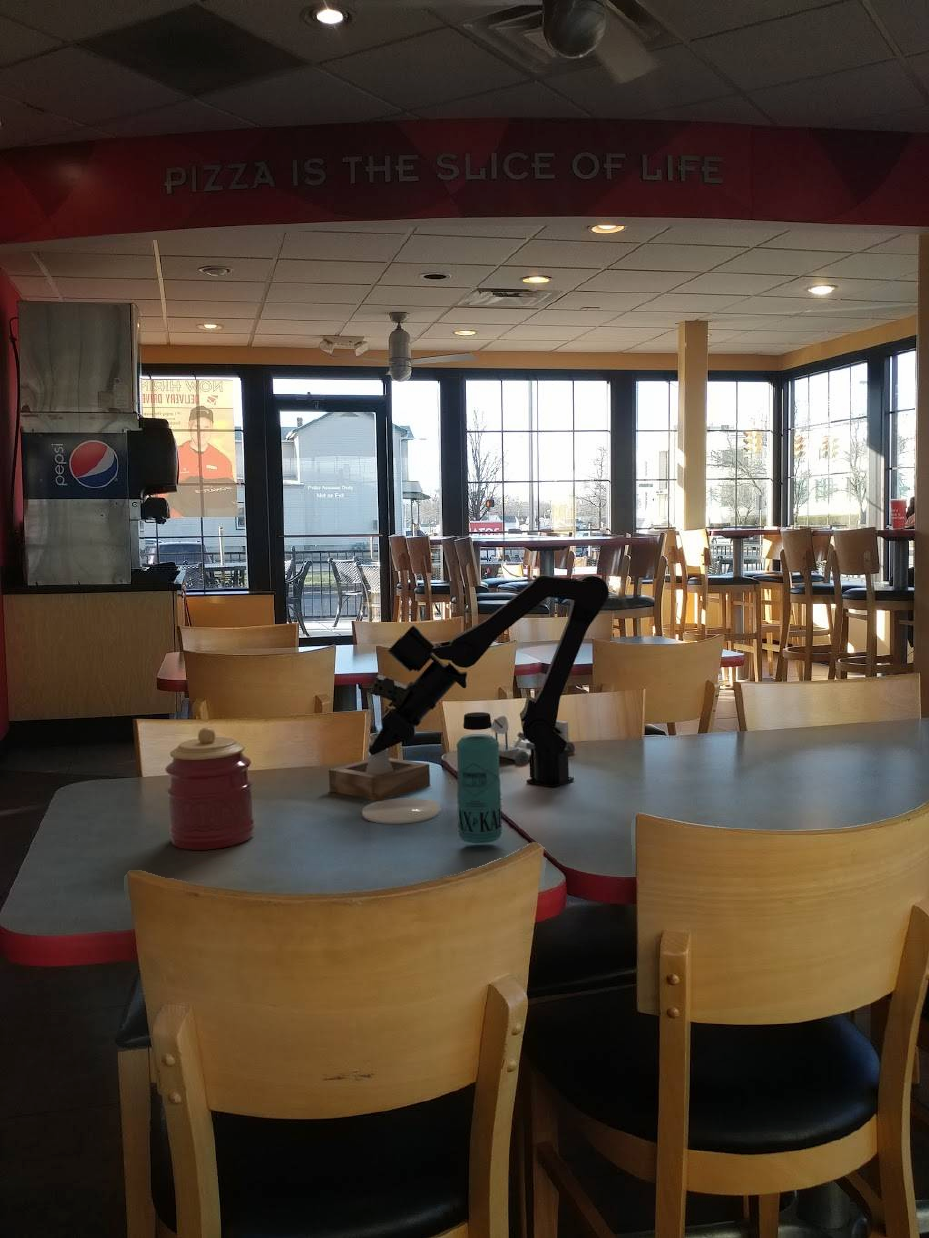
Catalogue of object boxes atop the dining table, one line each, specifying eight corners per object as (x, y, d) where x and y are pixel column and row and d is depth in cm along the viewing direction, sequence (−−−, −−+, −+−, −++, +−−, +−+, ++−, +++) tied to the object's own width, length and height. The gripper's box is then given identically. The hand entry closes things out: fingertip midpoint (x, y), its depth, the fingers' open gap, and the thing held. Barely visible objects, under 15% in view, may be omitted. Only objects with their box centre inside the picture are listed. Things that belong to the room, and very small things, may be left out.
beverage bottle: (457, 841, 156) (452, 710, 154) (500, 838, 157) (496, 708, 155) (460, 855, 150) (455, 718, 148) (506, 852, 150) (501, 715, 148)
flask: (394, 793, 186) (391, 738, 185) (355, 792, 188) (353, 737, 187) (404, 783, 193) (402, 730, 193) (367, 783, 195) (364, 730, 194)
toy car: (505, 720, 202) (470, 713, 212) (507, 769, 203) (471, 760, 213) (573, 708, 213) (537, 702, 222) (575, 755, 214) (538, 747, 223)
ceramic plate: (456, 809, 174) (456, 804, 174) (402, 828, 164) (402, 823, 164) (400, 798, 182) (400, 794, 182) (346, 816, 173) (345, 811, 173)
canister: (176, 856, 154) (169, 739, 153) (164, 834, 166) (157, 725, 164) (263, 843, 159) (257, 729, 158) (245, 822, 171) (239, 717, 170)
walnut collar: (430, 785, 191) (429, 764, 191) (380, 801, 181) (379, 778, 181) (380, 776, 200) (379, 756, 199) (329, 791, 190) (328, 769, 190)
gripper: (399, 653, 198) (344, 713, 199) (391, 666, 179) (331, 731, 180) (442, 692, 198) (387, 751, 199) (439, 709, 180) (379, 774, 181)
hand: (371, 751), depth 190 cm, fingers closed on flask, 3 cm apart
